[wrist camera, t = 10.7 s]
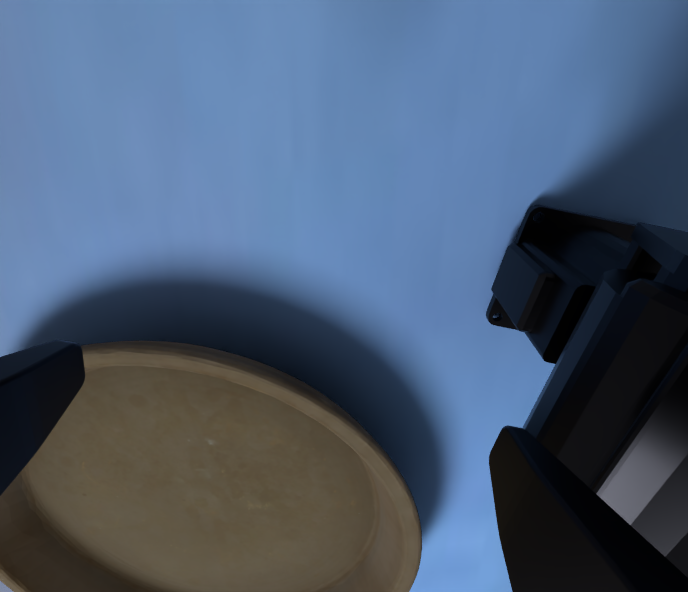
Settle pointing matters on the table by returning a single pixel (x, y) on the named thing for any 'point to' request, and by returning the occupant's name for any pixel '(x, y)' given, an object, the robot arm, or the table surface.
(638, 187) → the table surface
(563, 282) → the robot arm
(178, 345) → the plant saucer
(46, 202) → the table surface
